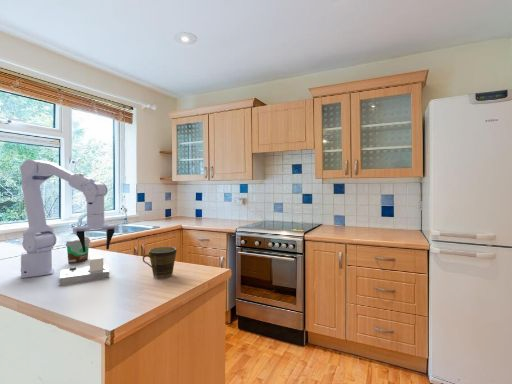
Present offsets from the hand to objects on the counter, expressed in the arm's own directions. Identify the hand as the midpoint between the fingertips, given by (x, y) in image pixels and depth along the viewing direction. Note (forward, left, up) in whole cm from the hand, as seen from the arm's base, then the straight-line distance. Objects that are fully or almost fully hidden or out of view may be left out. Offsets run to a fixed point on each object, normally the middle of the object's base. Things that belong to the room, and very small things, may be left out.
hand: (96, 250), depth 108 cm
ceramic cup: (+20, -15, -10) cm, 26 cm away
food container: (-4, +29, -10) cm, 31 cm away
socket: (-4, 0, -10) cm, 10 cm away
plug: (0, 0, -9) cm, 9 cm away
